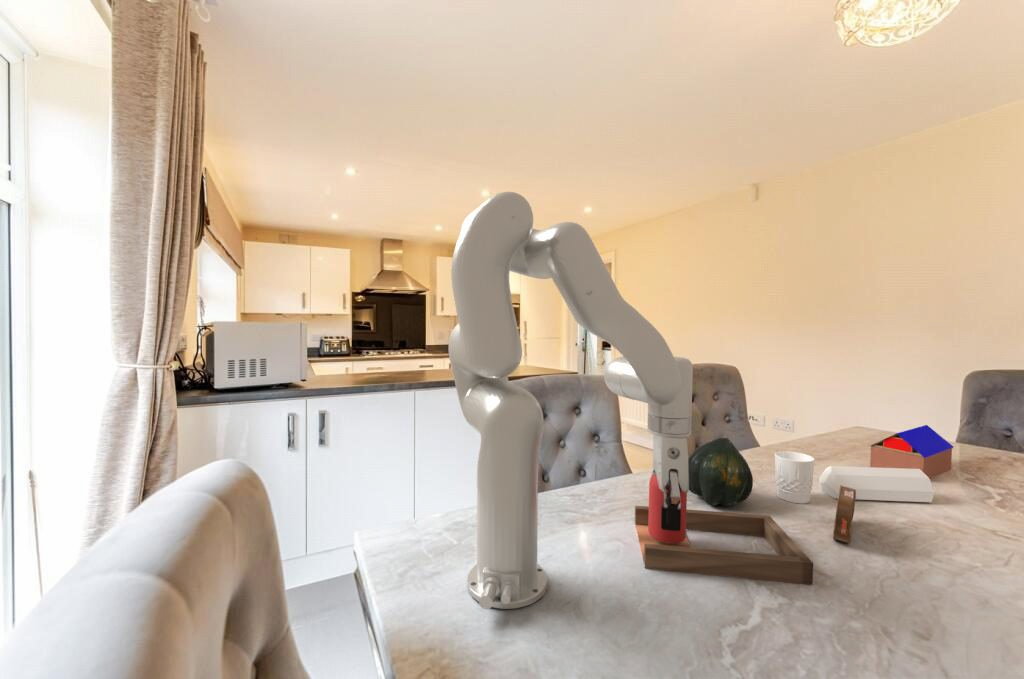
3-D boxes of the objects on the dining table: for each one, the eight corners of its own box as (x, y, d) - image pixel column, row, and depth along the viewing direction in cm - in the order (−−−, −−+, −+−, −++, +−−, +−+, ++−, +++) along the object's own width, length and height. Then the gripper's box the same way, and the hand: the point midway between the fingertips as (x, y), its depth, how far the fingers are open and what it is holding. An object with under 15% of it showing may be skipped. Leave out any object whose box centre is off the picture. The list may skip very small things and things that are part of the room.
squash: (676, 484, 97) (725, 436, 94) (668, 464, 111) (711, 423, 109) (727, 532, 94) (779, 484, 92) (712, 506, 109) (757, 464, 106)
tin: (836, 518, 92) (837, 479, 92) (855, 522, 90) (856, 482, 90) (831, 546, 81) (833, 501, 80) (852, 552, 79) (854, 506, 78)
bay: (812, 584, 69) (813, 563, 69) (645, 568, 73) (645, 547, 73) (768, 532, 86) (769, 515, 85) (634, 522, 90) (634, 505, 90)
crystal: (835, 487, 99) (950, 492, 97) (819, 463, 105) (927, 466, 103) (824, 508, 103) (934, 513, 101) (809, 483, 109) (913, 487, 107)
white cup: (797, 491, 107) (799, 450, 106) (821, 504, 99) (823, 461, 98) (766, 491, 106) (767, 451, 106) (787, 505, 99) (789, 461, 98)
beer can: (689, 547, 77) (690, 480, 76) (650, 543, 78) (651, 477, 78) (682, 530, 83) (683, 468, 83) (646, 526, 85) (647, 465, 84)
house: (868, 469, 123) (869, 428, 123) (899, 458, 133) (900, 420, 132) (923, 483, 113) (925, 438, 112) (952, 470, 123) (954, 429, 122)
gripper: (703, 437, 71) (700, 546, 71) (680, 415, 88) (678, 502, 88) (654, 435, 72) (652, 541, 73) (642, 413, 89) (640, 499, 90)
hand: (666, 519), depth 81 cm, fingers closed on beer can, 6 cm apart
